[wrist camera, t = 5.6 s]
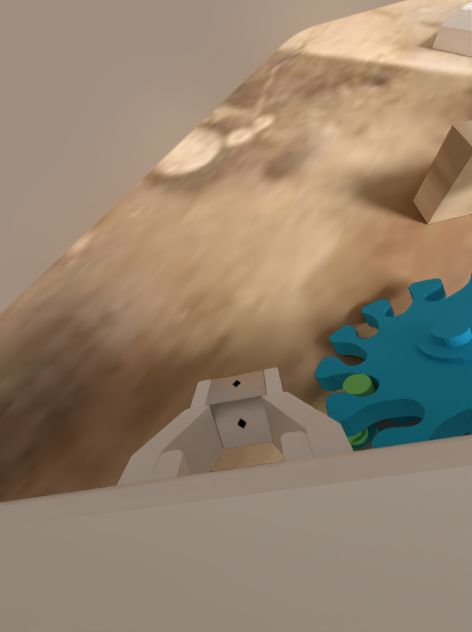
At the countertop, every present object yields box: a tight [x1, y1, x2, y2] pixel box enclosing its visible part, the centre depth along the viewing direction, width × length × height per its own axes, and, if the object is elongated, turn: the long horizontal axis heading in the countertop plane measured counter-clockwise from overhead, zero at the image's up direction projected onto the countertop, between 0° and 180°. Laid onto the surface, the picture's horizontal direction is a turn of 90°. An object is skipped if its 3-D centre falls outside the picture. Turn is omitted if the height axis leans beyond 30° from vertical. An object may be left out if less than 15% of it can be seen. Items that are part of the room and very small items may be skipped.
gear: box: [315, 274, 472, 451], centre depth 10 cm, size 11×6×10 cm
